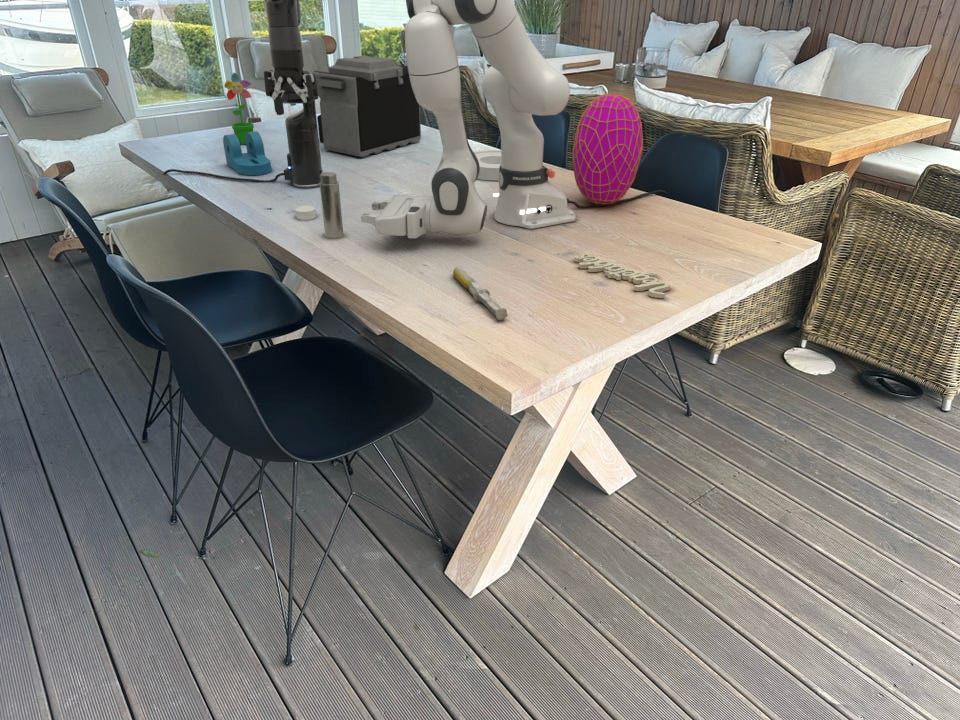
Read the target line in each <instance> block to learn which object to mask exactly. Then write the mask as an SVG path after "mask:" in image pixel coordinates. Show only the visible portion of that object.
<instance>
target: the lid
mask: <svg viewBox="0 0 960 720" xmlns="http://www.w3.org/2000/svg"><path fill="white" fill-rule="evenodd" d="M294 209H295V217H296V219H297V220H301V221H308V220H309V221H310V220H313V219H316V218H317V211H316V207H315V206H312V205H301V206H297V207H296V208H294Z"/></svg>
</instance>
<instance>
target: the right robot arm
mask: <svg viewBox="0 0 960 720" xmlns="http://www.w3.org/2000/svg"><path fill="white" fill-rule="evenodd" d="M405 4H406V10H407V15H408V18H409V20H408V21H407V22H406V24H405V28H404V44H405V47H404V48H405V58H406V66H408V72H409V78H410V82H411V86H412V90H413V93H414V95H415V98H416V100H417V102H418V103H419V105H420V107H421V108H423V109H425V110H426V111H428V112H429V111H430V112H432V113H433V115H434V117H435V119H436V122H437V126H438V127H437V128H438V131H439V137H440V141H441V146H442V154H441V158H440V161H439V164H438V166H437V168H436V169H435V172H434V173H433V176H432V178H431V183H430V184H431V193H432V196H419V195H417V196H416V195H410V194H409V195H408V194H396V195H393V196H392V197H391V199H390V200H382V201H373V202H372V203H371V209H372V211H380V210H381V211H380V212H379V214H375V215H373V214H370V213H363V214H361V216H360V222H361V223H364V224H365V223H366V224H370V225H373V226H375V232H377V233H378V234H381V235H386V236H395V237H405V236H407V238H408V239H417V238H419V237H420V236H422V235H426V234H431V235H432V234H439V233H442V234H446V235H453V236H472V235H477V234H479V233H480V232H482V230H483V228H484V226H485V221H486V217H487V212H488V204H487V203H486V202H485V201H484V200H483V199H482V197H481V195H480V194H479V192H478V190H477V188H476V186H475V182H476V181H477V180H478V179H477V178H478V175H479V171H480V166H479V162H478V159H477V157H476V155H475V154H474V152H475V151H473V149H472V148H471V145H470V143H469V139H468V134H467V130H466V124H465V119H464V115H463V114H464V113H463V109H462V87H461V86H462V85H461V73H460V72H461V71H460V65H459V58H458V53H457V49H456V45H455V40H454V39H455V37H454V36H455V31H456V26H457V25H467V24H468V25H469V28H470V29H471V32H472V34H473V36H474V38H475V40H476V42H477V44H478V46H479V48H480V50H481V52H482V54H483V56H484V59H485V61H486V62H487V63H488V65H490V67H488V68H487V70H486V71H485V72H484V75H483V78H482V82H481V90H482V94H483V96H484V99H486V101H488V103H489V105H490V106H491V108H492V110H493V113H494V115H495V117H496V121H497V125H498V128H499V129H498V130H499V133H500V150H501V165H500V166H499V179H498V180H499V181H498V188H499V189H498V193H493V194H492V196H493V197H498V198H497V203H496V208H495V210H494V214H493V219H494V220H495V221H496V222H498V223H500V224H503V225H508V226H513V227H519V228H524V229H529V230H534V229H539V228H544V227H550V226H555V225H561V224H566V223H571V222H575V221H576V214H575V212H574V211H573V210H572V209H571V208H570V207H569V204H570V205H571V204H572V205H574V206H575V207H576V208H578V209H593V208H597V207H602V206H608V205H610V204H596V203H595V204H590V205H580V204H578V203H577V202H576V201H573V200H570V198H568V197H567V196H566V194H565V193H564V191H562V190H561V189H560V188H559V187H558V186H556V185H555V184H554V183H553V182H552V181H550V180H549V178H550V179H553V178H555V176H556V171H555V170H553V169H552V168H548V167H546V166H544V165H543V164H544V146H545V139H544V138H545V137H544V135H543V133H542V131H541V130H540V129H539V128H538V127H537V125H536V123H535V121H534V118H533V116H538V117H544V116H545V117H546V116H557V115H559V114H560V113H562V112H563V111H564V109H566V107H567V105H568V103H569V101H570V95H571V87H570V83H569V82H570V81H569V80H568V78H567V76H565V75H564V74H562V73H561V71H560V72H559V71H558V70H557V69H556V68H555V67H554V66H553V65H551V64H550V63H549V62H548V60H547V59H546V58H545V57H544V56H543V54H541V52H540V51H539V49H537V47H536V46H535V45H534V43H533V42H532V41H531V39H530V37H529V35H528V33H527V31H526V28H525V26H524V24H523V22H522V20H521V17H520V15H519V12H518V10H517V7H516V6H515V3H514V1H513V0H405ZM455 25H456V26H455ZM659 193H662V194H663V195H665V196H668V195H669V194H668V193H667V192H666V191H665V190H662V189H657V190H653V191H649V192H645V193H641V194H638V195H636V196H632V197H628V198H624V199H620V200H618V201H617V202H615V203H612V204H611V205H615V204H620V203H622V204H623V203H626V202H630V201H634V200H636V199H639V198H641V197H645V196H650V195H654V194H659Z"/></svg>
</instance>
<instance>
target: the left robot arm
mask: <svg viewBox="0 0 960 720" xmlns="http://www.w3.org/2000/svg"><path fill="white" fill-rule="evenodd" d="M263 2H264V8H265V15H266V21H267V26H268V27H267V29H268V42H269V50H270V51H269V52H270V58H271V67H272V68H273V69H269V70H265V71H264V72H263V81H264V90H265V96H266V97H270V98H272V100H273V107H274V111H275V113H276V115H277V116H283V115H284V114H285V109H284V108H285V107H284V104H287V105H288V104H289V105H290V104H293V105H296V104H297V105H298V104H299V105H301V104H302V106H303V107H302V109H301V110H300V111H297V112H295V113H292V114H290V115H288V116H286V117H285V120H284V123H285V131H286V138H287V146H288V153H287V154H286V161H287V168H284V169H283V172H281V173H278V174H276V175H275V176H274V178H273V179H269V180H267V179H266V180H262V179H255V178H243V177H242V178H241V177H232V176H226V175H220V174H215V173H208V172H202V171H194V170H182V169H176V168H170V169H167V170H164V172H163V173H162V175H163V176H165V175H167V174H168V173H172V172H174V173H175V172H176V173H180V174H181V173H182V174H191V175H192V174H193V175H201V176H208V177H213V178H218V179H224V180H231V181H239V182H252V183H274V182H276V181H277V180H278V179H279V178H280V177H282V176H283V177H284V181H289V184H290V186H294V187H296V188H300V189H301V188H303V189H310V188H317V187H320V184H319V183H320V181H321V177H320V174H321V173H323V172H324V169H323V167H322V157H321V147H320V139H319V130H318V120H317V110H316V100H318V99H319V96H318V91H317V84H316V78H315V74H311V72H312V71H311V70H309V69H304V66H305V63H304V54H303V45H302V44H303V43H302V37H301V32H300V23H301V20H302V14H301V7H300V0H263Z"/></svg>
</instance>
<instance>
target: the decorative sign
mask: <svg viewBox="0 0 960 720" xmlns="http://www.w3.org/2000/svg"><path fill="white" fill-rule="evenodd" d="M574 262H575V263H578V269H588V270H587V272H588V273H598V272H603V273H604V276H606V277H607V278H608V279H614V280H617V281H621V279H622V280H627V281H628V282H630V283H633V284H634V285H633V291H636V292H643V291H647V290H648V293H647V294H648V296H649V297H652V298H656V299H664V298H665V295H666V292H668V291H669V290H670V289H671V283H670V282H668V281H659V279H658V272H657V271H648V272H639V271H637V270H634V269H630V268H628V267H627V266H626V267H625V266H624V265H619V264H618V263H615V262H611V261H610V260H604V258H601V257H598V256H596V255H592V254H590V253H587V252H586V253H582V254H581V255H580V256H578V255H575V256H574Z"/></svg>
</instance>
